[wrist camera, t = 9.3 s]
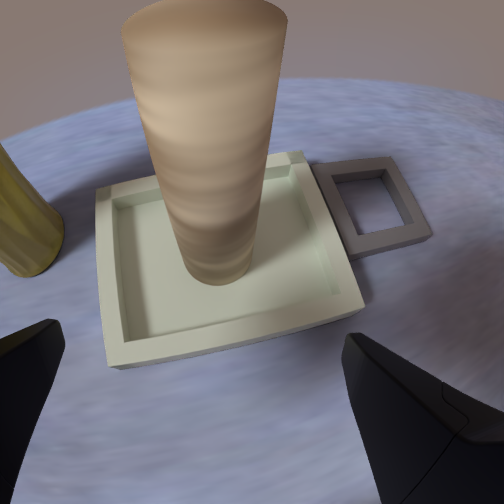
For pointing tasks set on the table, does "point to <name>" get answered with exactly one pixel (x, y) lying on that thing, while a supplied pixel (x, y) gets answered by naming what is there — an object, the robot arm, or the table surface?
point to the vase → (26, 223)
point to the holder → (399, 191)
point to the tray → (217, 297)
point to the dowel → (208, 120)
